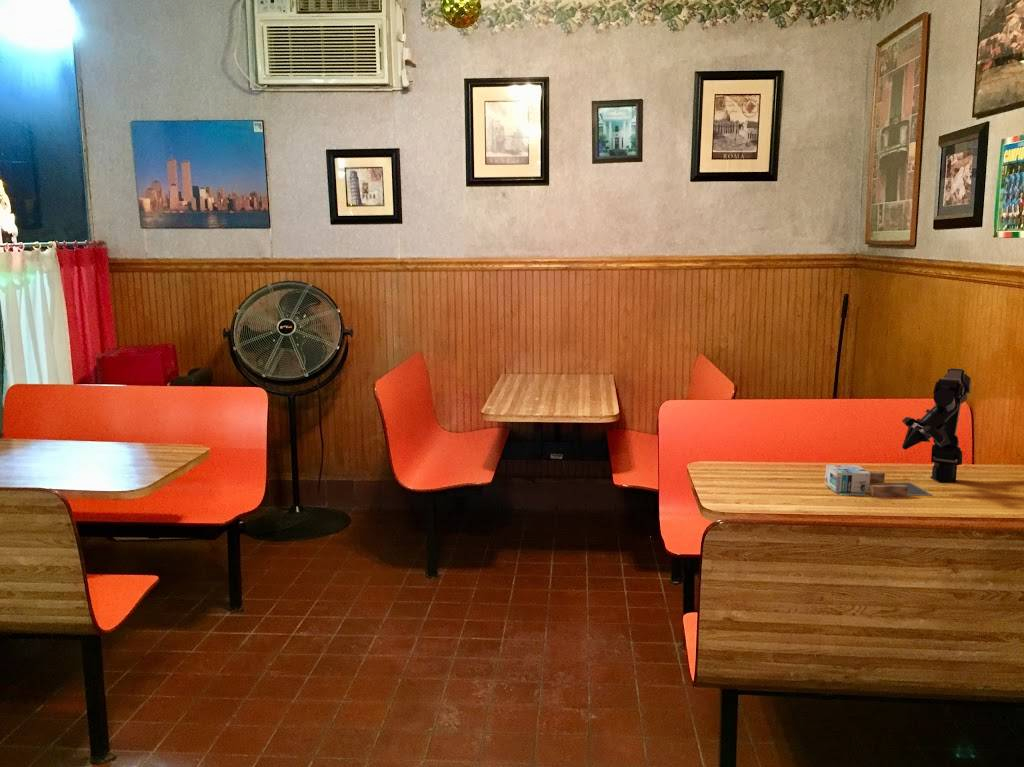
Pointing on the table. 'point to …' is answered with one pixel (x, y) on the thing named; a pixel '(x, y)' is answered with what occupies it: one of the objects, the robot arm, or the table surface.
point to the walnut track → (885, 487)
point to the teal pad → (850, 493)
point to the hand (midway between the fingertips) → (903, 448)
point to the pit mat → (912, 489)
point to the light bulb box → (847, 478)
